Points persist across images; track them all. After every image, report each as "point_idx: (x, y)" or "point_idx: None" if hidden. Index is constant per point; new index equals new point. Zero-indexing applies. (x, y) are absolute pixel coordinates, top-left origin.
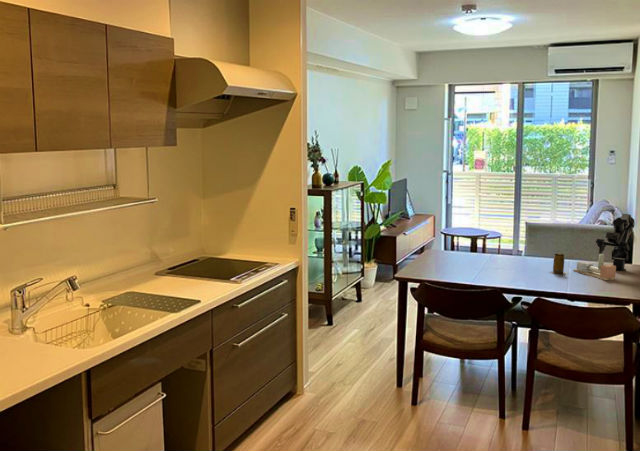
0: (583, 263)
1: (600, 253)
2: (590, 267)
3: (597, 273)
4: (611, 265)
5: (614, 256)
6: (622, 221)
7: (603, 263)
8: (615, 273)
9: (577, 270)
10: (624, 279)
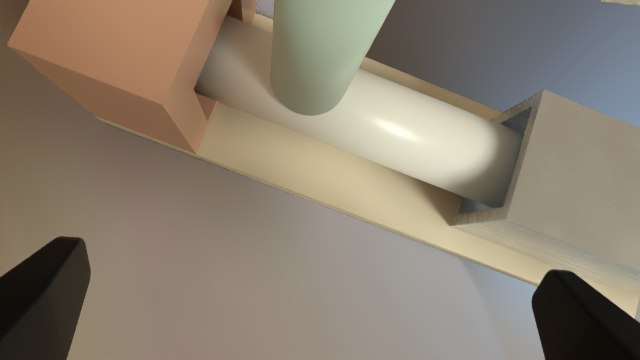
0: (614, 118)
1: (556, 323)
2: (472, 113)
3: (365, 182)
4: (98, 22)
5: (65, 239)
6: None
7: (273, 44)
8: (70, 96)
9: None
10: (3, 221)
